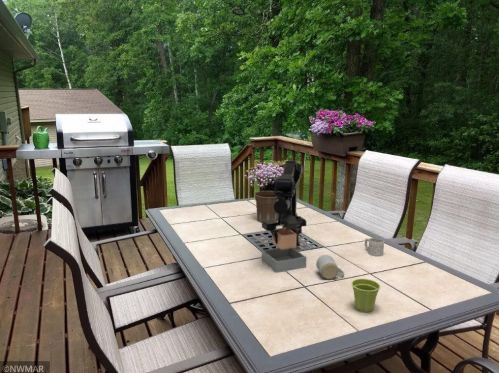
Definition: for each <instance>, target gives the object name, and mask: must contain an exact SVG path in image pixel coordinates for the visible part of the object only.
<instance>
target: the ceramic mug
mask: <svg viewBox="0 0 499 373" xmlns="http://www.w3.org/2000/svg"><path fill="white" fill-rule="evenodd" d="M315 262H316V269H317V271H318V272H319V274H320V275H321V276H322V277H323V278H325V279H326V280H332V279H335V278H336V277H339V278H343V277H344V275H345V272H344V270H342V269H341V268H339V266H338V265H337V263H336V261H335V259H334V258H333V256H331V255H329V254H322V255H320V256H319V257H318V258H317V260H316V261H315Z"/></svg>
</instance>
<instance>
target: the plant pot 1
mask: <svg viewBox="0 0 499 373" xmlns="http://www.w3.org/2000/svg"><path fill="white" fill-rule="evenodd" d="M274 191H275V190H274ZM274 191H273V190H261V191H260V190H259V191H256V192H254V199H255V203H256V204H255V206H256V220H257V221H258V222H260V223H261V224H262V223H263V221H268V220H271V221H273V222H278V221H277V220H276V218H278V213H276V212H275V210H274V204H275V202H276V201H277V199H278V196H274Z"/></svg>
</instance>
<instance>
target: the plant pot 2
mask: <svg viewBox="0 0 499 373" xmlns="http://www.w3.org/2000/svg"><path fill="white" fill-rule="evenodd" d="M351 286H352V290H353V297H354V307H355V309H356V310H357V311H361V312H363V313H370V312H372V311H374V308H375V305H376V304H375V303H376V300H377V295H378V292H379V291H380V289H381V284H380V283H378V282H377V281H375V280H373V279H370V278H355V279H353V280H352V281H351Z"/></svg>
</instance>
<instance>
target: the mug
mask: <svg viewBox="0 0 499 373" xmlns="http://www.w3.org/2000/svg"><path fill="white" fill-rule="evenodd" d="M364 248H366V250H368V251H367V253H368V255H370V256H372V257H382V256H384V249H385V240H384V239H383V238H381V237H380V238H379V237H371V238H365V240H364Z"/></svg>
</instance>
